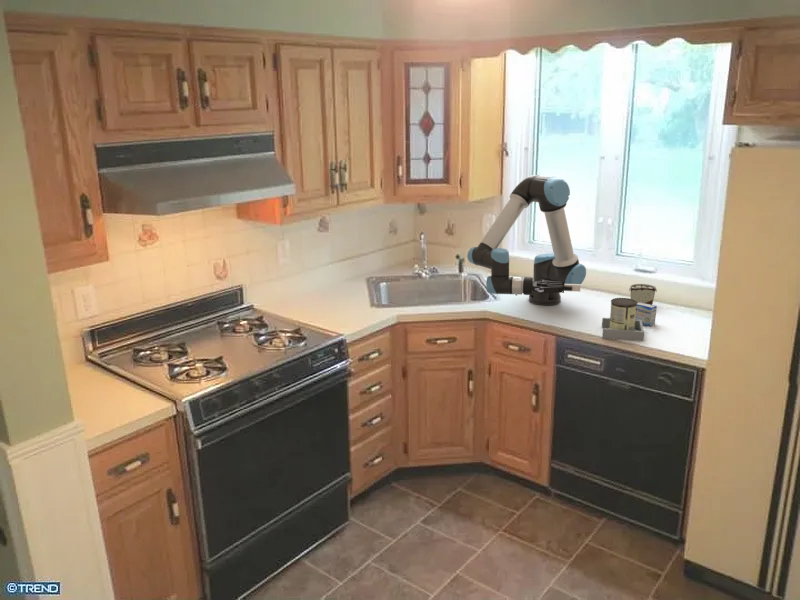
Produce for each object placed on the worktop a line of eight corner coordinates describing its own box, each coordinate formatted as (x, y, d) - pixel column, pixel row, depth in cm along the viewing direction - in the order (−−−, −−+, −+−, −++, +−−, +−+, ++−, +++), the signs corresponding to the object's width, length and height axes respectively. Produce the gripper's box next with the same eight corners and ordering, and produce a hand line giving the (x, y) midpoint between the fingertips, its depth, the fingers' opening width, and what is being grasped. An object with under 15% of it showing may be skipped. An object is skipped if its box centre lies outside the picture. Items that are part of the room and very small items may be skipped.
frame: (602, 338, 281) (602, 329, 280) (601, 326, 295) (602, 317, 294) (643, 341, 277) (644, 332, 276) (640, 329, 291) (641, 320, 290)
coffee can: (612, 327, 293) (615, 296, 289) (637, 331, 288) (640, 299, 284) (605, 334, 285) (607, 302, 281) (630, 339, 280) (633, 306, 275)
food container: (651, 304, 324) (653, 283, 321) (655, 307, 318) (657, 287, 315) (625, 303, 325) (626, 283, 322) (627, 307, 319) (629, 287, 316)
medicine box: (633, 322, 299) (634, 303, 296) (638, 320, 302) (639, 301, 299) (650, 326, 293) (652, 307, 291) (655, 324, 296) (657, 305, 294)
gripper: (524, 289, 298) (580, 291, 291) (521, 299, 286) (579, 301, 280) (524, 273, 295) (581, 274, 289) (521, 282, 283) (580, 283, 277)
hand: (580, 287), depth 284 cm, fingers closed
